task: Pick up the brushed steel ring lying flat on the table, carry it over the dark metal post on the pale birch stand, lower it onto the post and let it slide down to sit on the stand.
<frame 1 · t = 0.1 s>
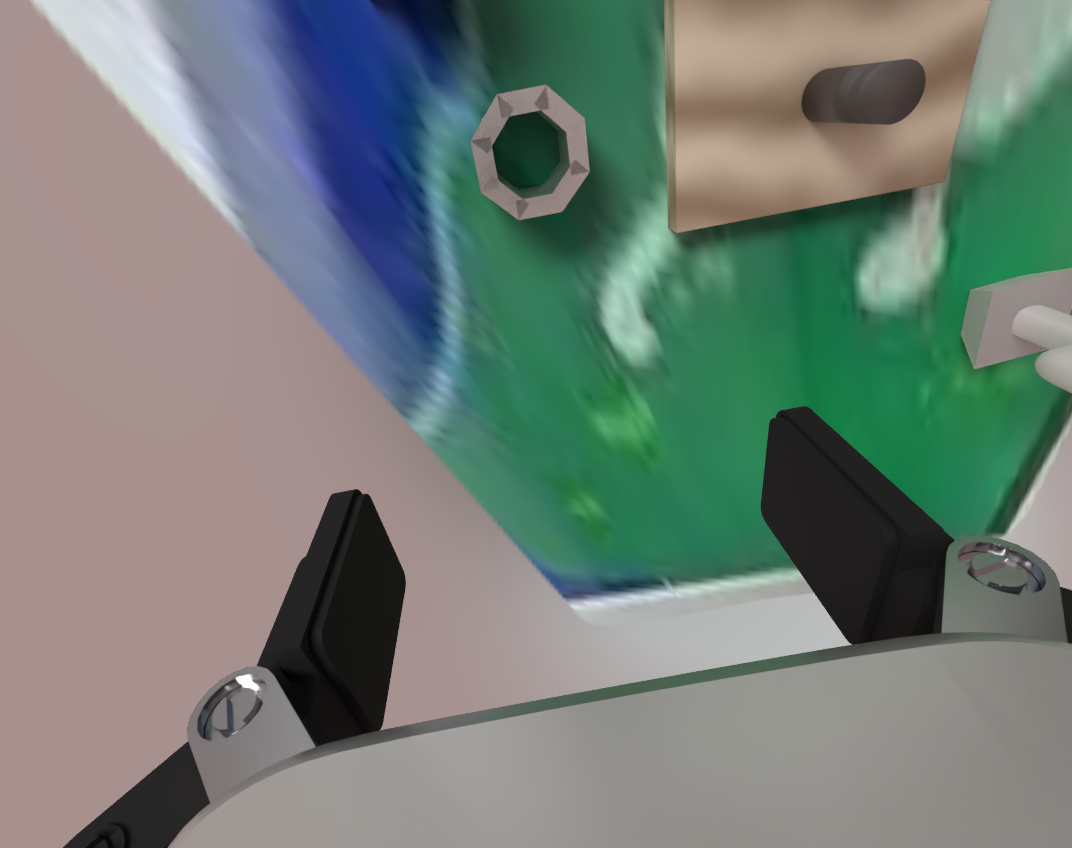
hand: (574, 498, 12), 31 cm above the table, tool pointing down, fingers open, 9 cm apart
post stand: (807, 96, 35), on the table
figurine: (987, 305, 45), on the table
steel ring: (525, 151, 35), on the table
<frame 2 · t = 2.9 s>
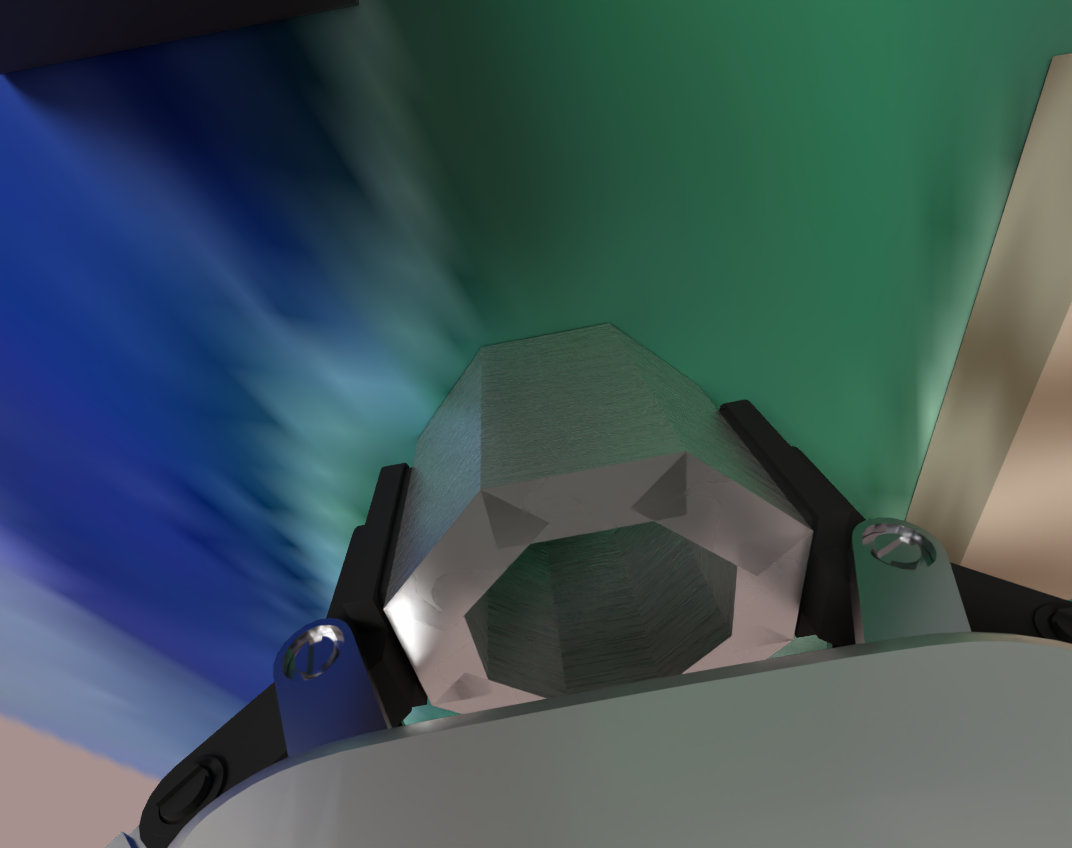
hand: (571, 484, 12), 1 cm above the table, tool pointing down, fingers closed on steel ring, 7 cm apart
steel ring: (565, 459, 13), on the table, touching gripper
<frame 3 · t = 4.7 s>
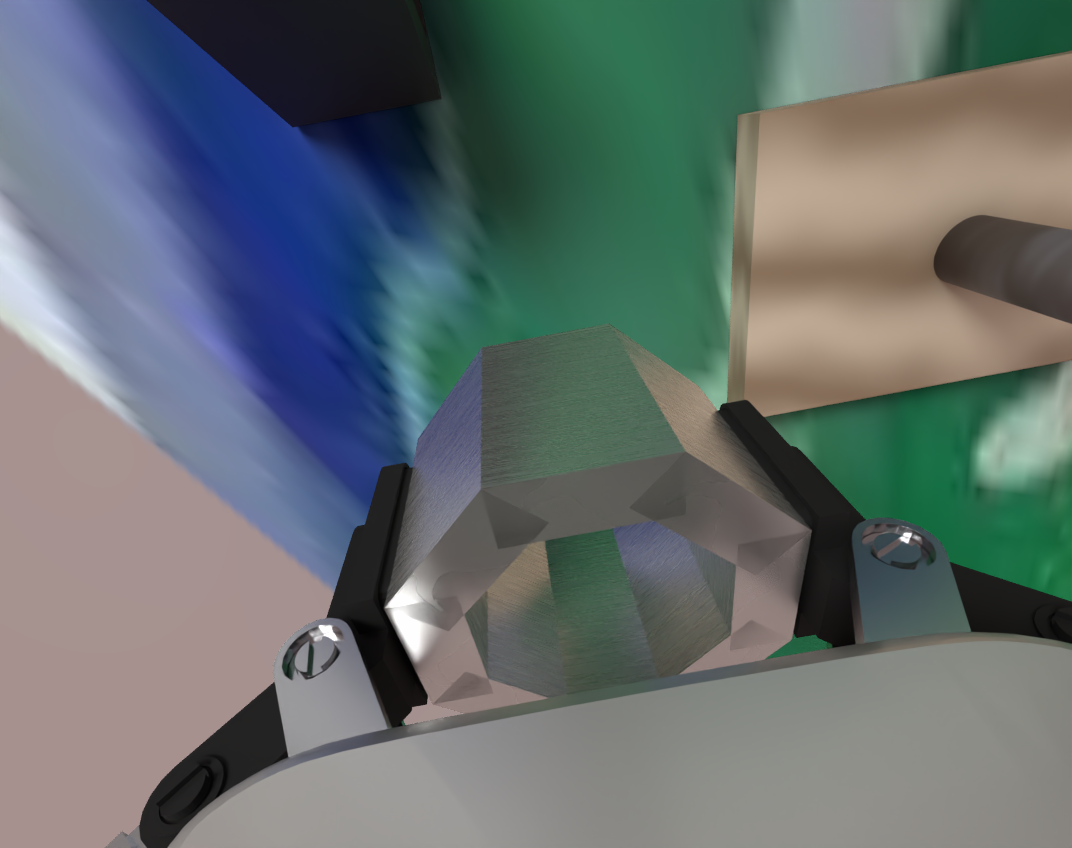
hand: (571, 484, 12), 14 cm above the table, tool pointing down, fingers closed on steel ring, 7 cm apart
post stand: (933, 241, 25), on the table
steel ring: (565, 459, 13), point 13 cm above the table, touching gripper
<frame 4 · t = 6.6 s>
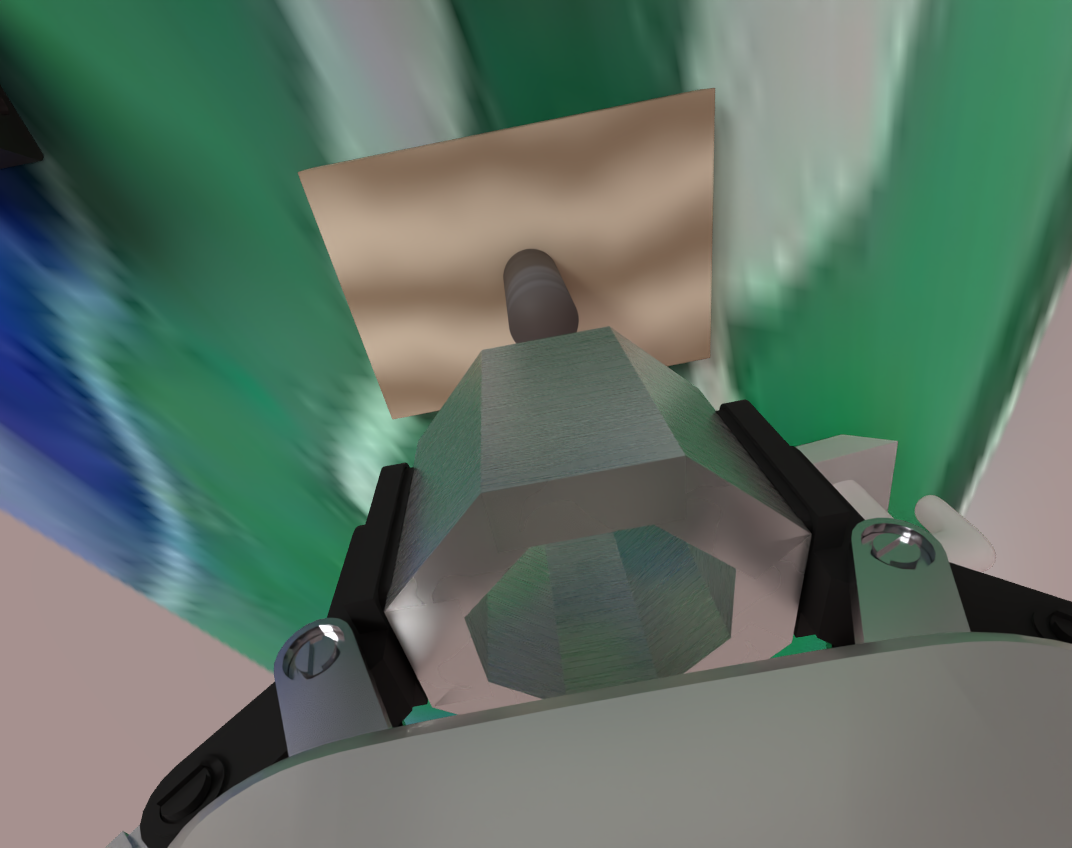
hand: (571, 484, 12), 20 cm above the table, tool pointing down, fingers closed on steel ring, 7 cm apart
post stand: (528, 267, 29), on the table
figurine: (810, 462, 39), on the table
steel ring: (565, 461, 13), point 19 cm above the table, touching gripper
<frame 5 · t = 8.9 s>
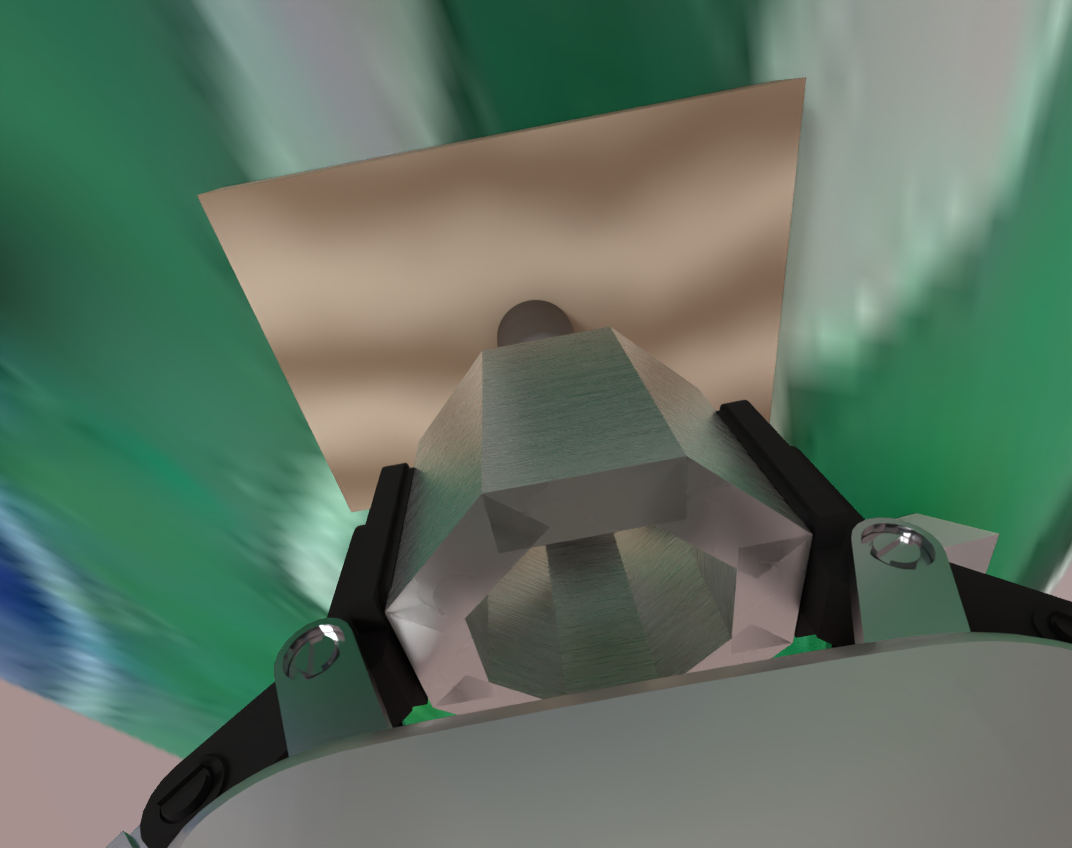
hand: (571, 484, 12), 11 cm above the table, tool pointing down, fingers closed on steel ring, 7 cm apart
post stand: (530, 319, 22), on the table
figurine: (874, 544, 32), on the table
steel ring: (566, 462, 13), point 10 cm above the table, touching gripper
when the fingers open (8 cm above the table, at t = 10.6 s): steel ring drops 5 cm, resting on post stand.
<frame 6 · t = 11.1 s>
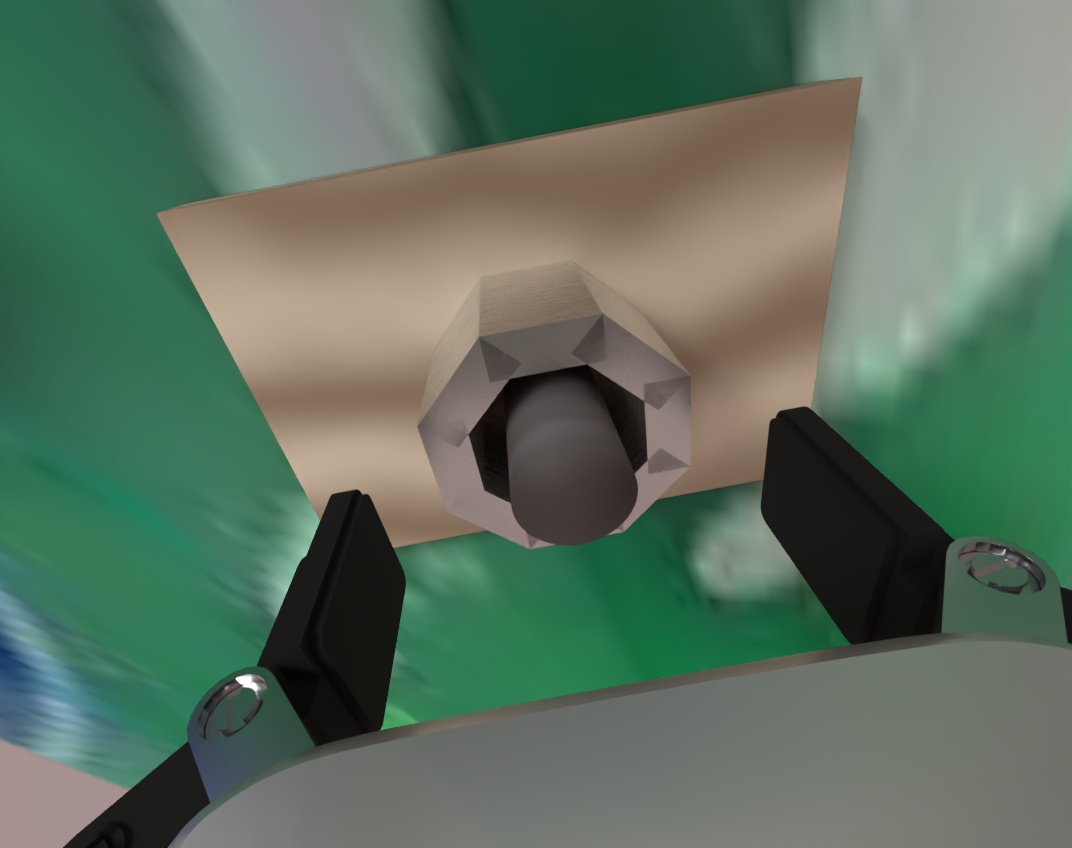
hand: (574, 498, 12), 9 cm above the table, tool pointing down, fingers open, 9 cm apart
post stand: (539, 347, 19), on the table
steel ring: (542, 367, 18), point 2 cm above the table, touching post stand
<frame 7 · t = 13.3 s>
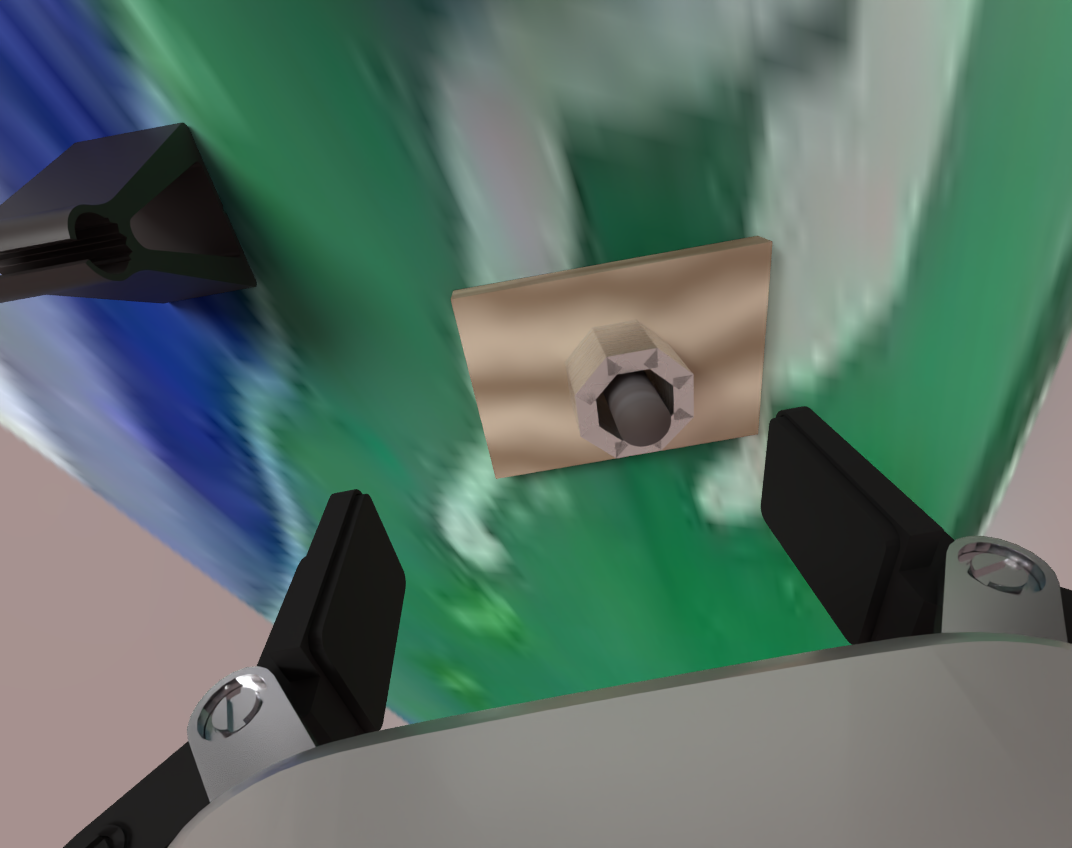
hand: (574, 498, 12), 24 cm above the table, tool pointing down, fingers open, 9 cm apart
post stand: (613, 361, 36), on the table
phone stand: (178, 218, 30), on the table
steel ring: (618, 372, 34), point 2 cm above the table, touching post stand
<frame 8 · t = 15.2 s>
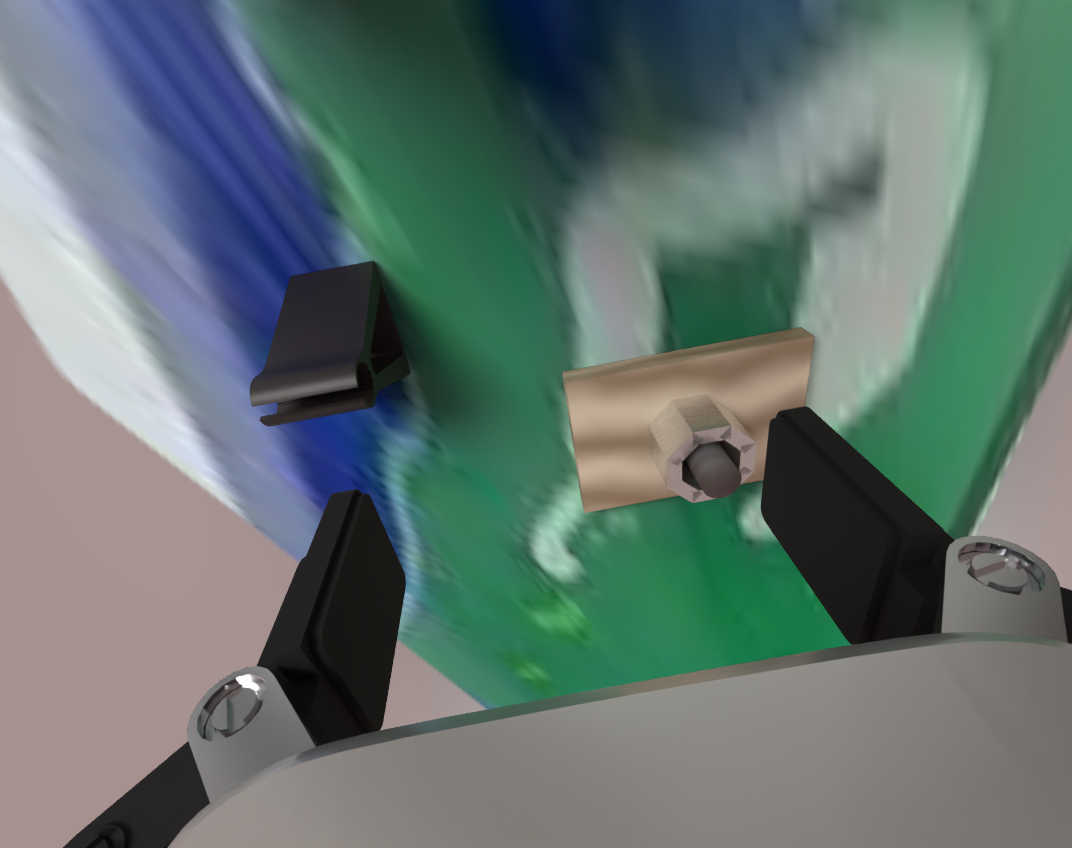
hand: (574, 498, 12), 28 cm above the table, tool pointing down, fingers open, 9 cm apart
post stand: (681, 420, 45), on the table
phone stand: (355, 325, 38), on the table
steel ring: (688, 431, 43), point 2 cm above the table, touching post stand
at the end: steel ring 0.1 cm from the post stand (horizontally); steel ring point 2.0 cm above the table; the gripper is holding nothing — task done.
